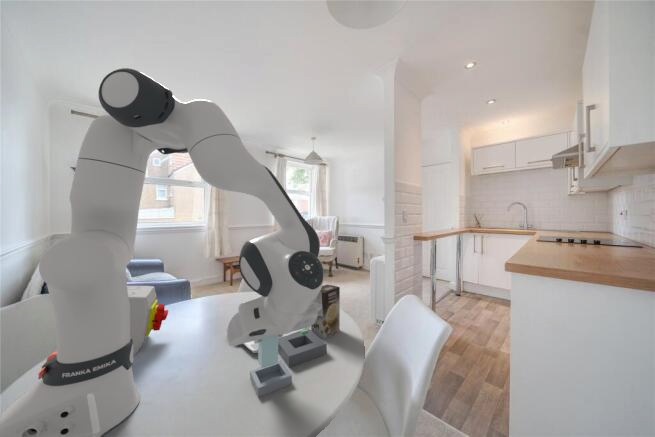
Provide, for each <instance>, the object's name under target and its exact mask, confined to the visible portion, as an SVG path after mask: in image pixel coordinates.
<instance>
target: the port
mask: <svg viewBox="0 0 655 437" xmlns="http://www.w3.org/2000/svg"><path fill="white" fill-rule="evenodd" d="M294 333H295V332H294ZM287 335H288V336H287ZM287 335H284V336H282V337H279V338H278V356H280V358H281V360H283V362H284V363H285V365H286V367H288V368H292V367H294V366H297V365H301V364H303V363H306V362H308V361H309V362H310V361H312V360H314V359H316V358H320V357H323V356H326V355H327V354H328V352H327V351H328V349H327V345H328V344H327V342H325V341H324V339H322V338H320V337H318V336H317V335H316V334H314V333H313V332H312V331H311V328H310V329H309V328H308V329H306V330H302V331H301V332H298V333H295V334H292V333H291V335H290V334H287Z"/></svg>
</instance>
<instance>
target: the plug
mask: <svg viewBox="0 0 655 437" xmlns="http://www.w3.org/2000/svg"><path fill="white" fill-rule="evenodd" d="M257 350H258V353H257V356H258V358H257V361H258V364H259V366H260V367H261V368H264V367H267V366H270V365H273V364H277V363H278V361H279V353H278V335H276V336H272V337H268V338H264V339H262V341H261V342H259V343H258V349H257Z"/></svg>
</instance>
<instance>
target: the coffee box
mask: <svg viewBox="0 0 655 437" xmlns="http://www.w3.org/2000/svg"><path fill="white" fill-rule="evenodd" d="M340 288H341V287H340V286H338V285H332V284H325V285H322V288H321V290H320V292H319V294H318V296H317V298H316V300H315V301H314V303H318V304H321V305H322V308H321V309H320V311H318V312H317V314H318V317H317V319H316V321H315V323H314V324H313V325H312V326H310V330H311V331H312V332H313V333H314V334H316V335H317V336H318V337H319V338H320V339H322V340H325V339H327V338H329V337H330V336H332V335H333V334H336V333H337V332H339V331H340V326H341V324H340V316H341V315H340V314H341V313H340V312H341V310H340V309H341V308H340V307H341V306H340V305H341V302H340V301H341V300H340V299H341V298H340V297H341V296H340V292H341V291H340Z"/></svg>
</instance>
